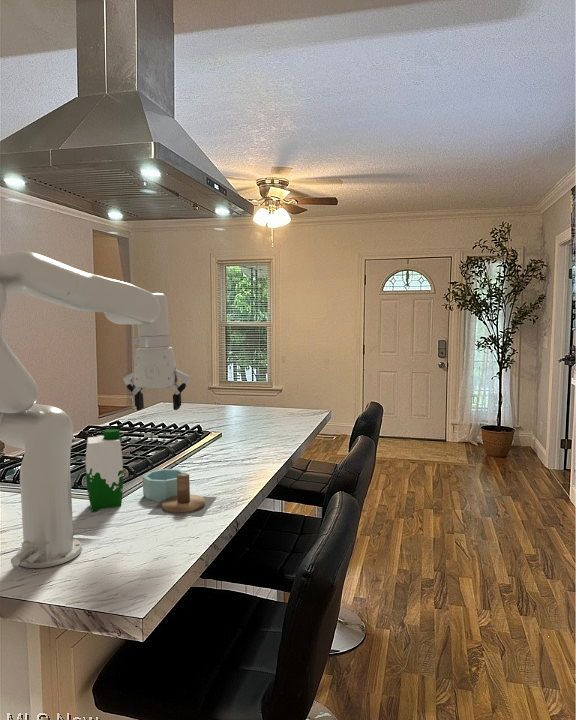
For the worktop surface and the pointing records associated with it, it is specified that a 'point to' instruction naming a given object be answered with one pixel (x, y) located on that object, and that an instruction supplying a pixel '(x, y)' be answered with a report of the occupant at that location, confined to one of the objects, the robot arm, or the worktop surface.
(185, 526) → the worktop surface
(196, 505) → the lid
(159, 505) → the mat
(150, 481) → the bowl
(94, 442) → the soya milk
